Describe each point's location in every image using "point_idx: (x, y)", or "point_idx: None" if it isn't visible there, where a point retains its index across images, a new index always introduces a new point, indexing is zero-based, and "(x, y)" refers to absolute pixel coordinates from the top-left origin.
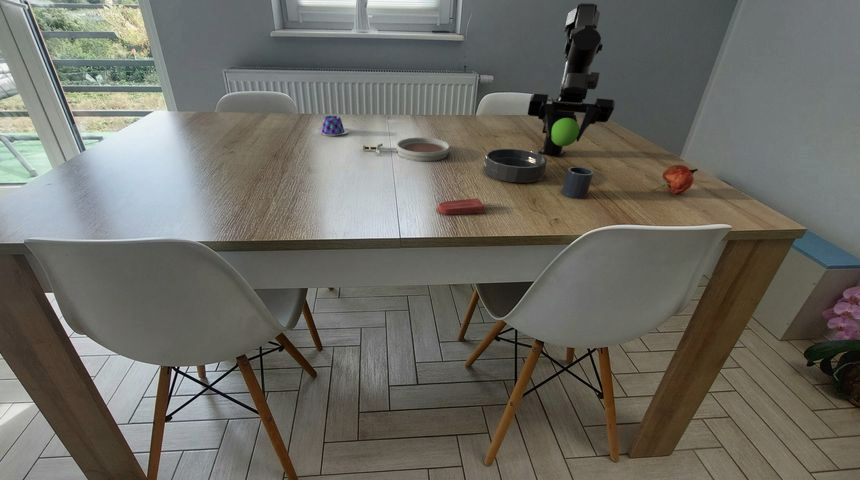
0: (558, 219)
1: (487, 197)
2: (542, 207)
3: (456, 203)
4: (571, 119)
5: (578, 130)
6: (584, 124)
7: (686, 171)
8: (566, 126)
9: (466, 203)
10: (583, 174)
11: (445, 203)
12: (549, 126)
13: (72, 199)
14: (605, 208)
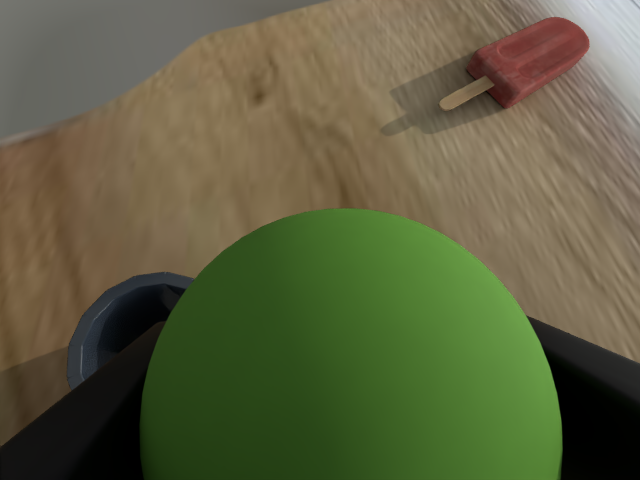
0: (251, 99)
1: (501, 177)
2: (309, 166)
3: (552, 50)
4: (316, 351)
5: (164, 325)
6: (22, 465)
7: None
8: (352, 213)
9: (528, 52)
10: (142, 282)
11: (576, 42)
12: (574, 345)
13: None
14: (64, 248)
